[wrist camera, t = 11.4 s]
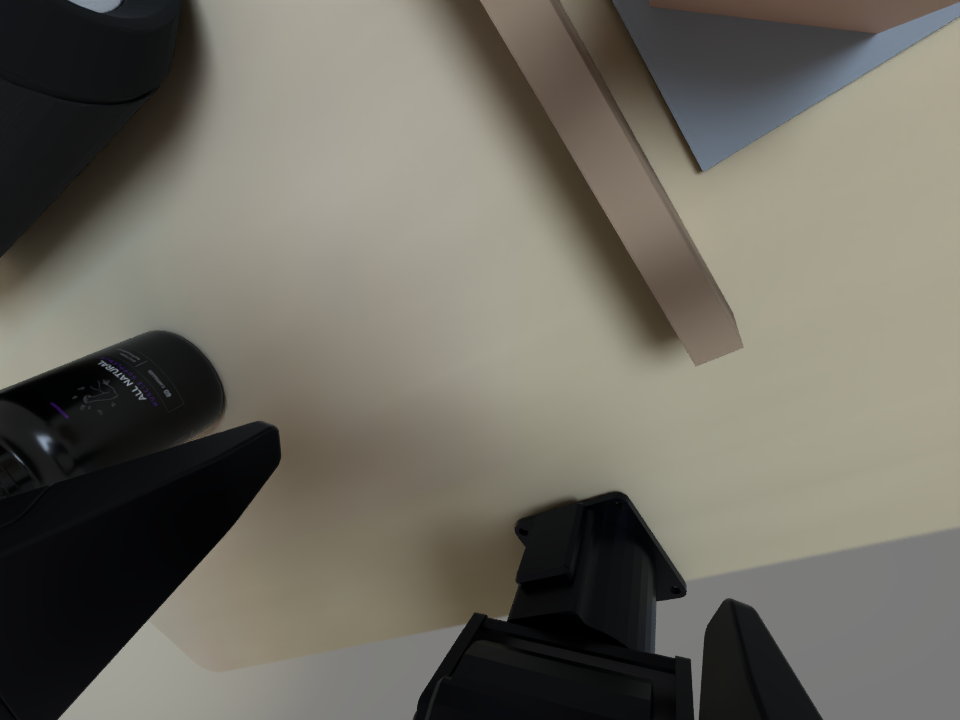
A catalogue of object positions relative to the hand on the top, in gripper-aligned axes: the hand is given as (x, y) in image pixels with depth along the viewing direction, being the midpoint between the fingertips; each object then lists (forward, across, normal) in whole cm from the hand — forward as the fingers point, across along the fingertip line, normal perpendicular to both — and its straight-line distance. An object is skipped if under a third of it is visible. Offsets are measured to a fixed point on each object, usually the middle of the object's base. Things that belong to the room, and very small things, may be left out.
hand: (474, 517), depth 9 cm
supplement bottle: (+12, +23, +11) cm, 28 cm away
